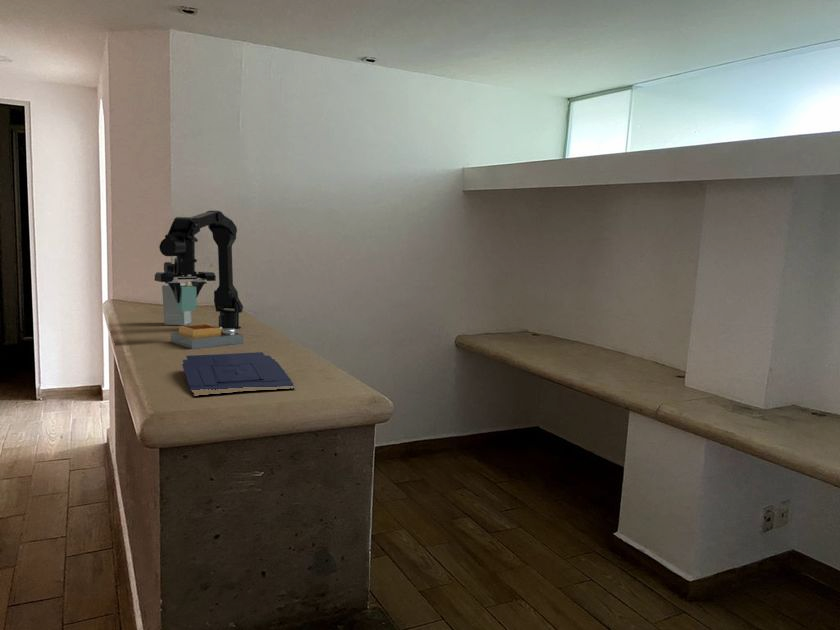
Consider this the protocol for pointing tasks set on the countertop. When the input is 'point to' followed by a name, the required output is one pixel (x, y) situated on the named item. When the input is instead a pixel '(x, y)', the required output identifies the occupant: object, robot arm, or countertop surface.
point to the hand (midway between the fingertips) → (185, 302)
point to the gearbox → (205, 336)
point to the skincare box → (173, 308)
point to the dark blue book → (234, 371)
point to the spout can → (186, 298)
